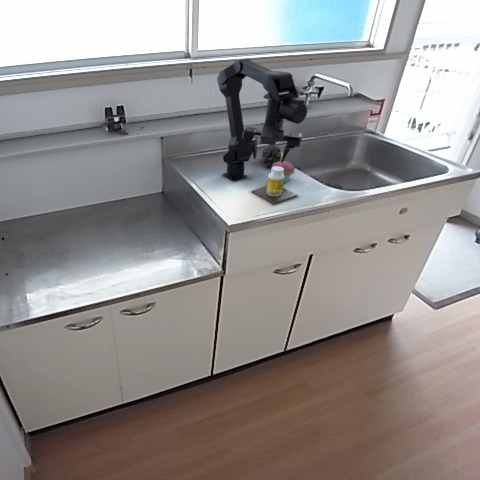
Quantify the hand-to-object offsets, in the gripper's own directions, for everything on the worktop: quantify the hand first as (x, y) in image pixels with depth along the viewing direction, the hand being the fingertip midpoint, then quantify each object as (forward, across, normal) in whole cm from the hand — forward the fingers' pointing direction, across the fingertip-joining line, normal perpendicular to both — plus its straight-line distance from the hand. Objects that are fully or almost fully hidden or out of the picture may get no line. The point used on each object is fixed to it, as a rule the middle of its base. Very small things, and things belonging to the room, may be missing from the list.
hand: (268, 160), depth 134 cm
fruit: (+13, -3, +28) cm, 31 cm away
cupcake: (+13, +4, +14) cm, 19 cm away
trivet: (+12, +4, +1) cm, 13 cm away
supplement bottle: (+12, +4, 0) cm, 13 cm away
